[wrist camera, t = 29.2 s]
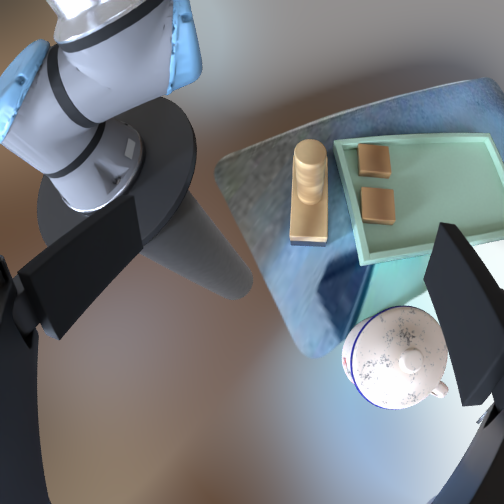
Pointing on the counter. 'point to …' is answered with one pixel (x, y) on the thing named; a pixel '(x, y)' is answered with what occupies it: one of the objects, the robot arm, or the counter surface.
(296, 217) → the brush
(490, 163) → the tray
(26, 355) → the robot arm
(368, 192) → the cork piece
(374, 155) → the cork piece
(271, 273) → the counter surface
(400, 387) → the teacup with lid
